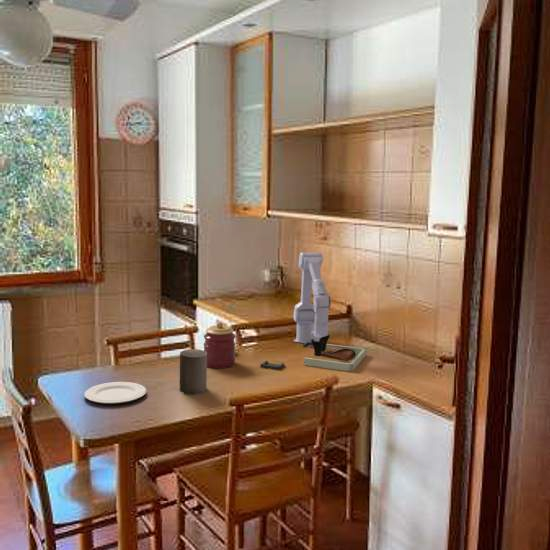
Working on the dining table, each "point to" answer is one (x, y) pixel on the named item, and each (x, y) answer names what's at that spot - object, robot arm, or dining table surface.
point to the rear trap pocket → (308, 344)
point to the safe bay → (338, 365)
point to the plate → (115, 392)
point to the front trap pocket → (272, 365)
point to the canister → (220, 346)
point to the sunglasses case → (338, 353)
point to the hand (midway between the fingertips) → (320, 353)
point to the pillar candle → (193, 371)
